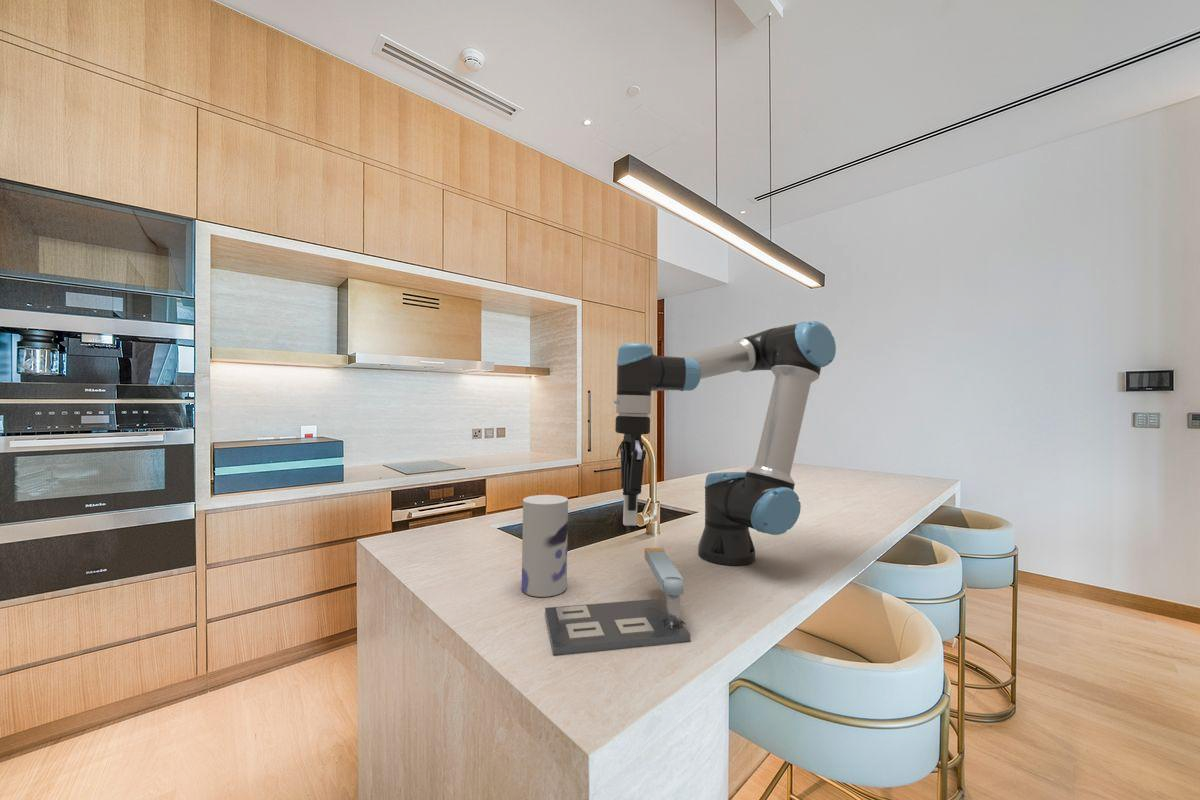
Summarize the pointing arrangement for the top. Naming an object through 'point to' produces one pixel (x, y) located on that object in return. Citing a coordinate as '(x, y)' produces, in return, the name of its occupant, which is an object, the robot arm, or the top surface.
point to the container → (544, 545)
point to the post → (673, 612)
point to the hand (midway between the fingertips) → (629, 524)
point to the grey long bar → (664, 571)
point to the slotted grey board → (611, 626)
